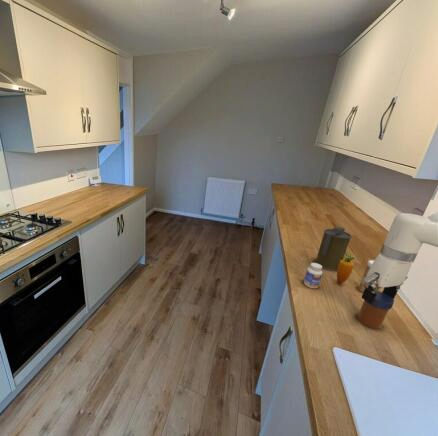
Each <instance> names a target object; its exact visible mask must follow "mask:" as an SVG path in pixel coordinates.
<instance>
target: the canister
mask: <svg viewBox="0 0 438 436" xmlns="http://www.w3.org/2000/svg"><path fill="white" fill-rule="evenodd" d="M345 230H346V228H345V227H342V226H333V228H326V229H324V230H323V235H322V239H321V242H320V244H319V245H320V246H319V249H318V252H317V254H316V255H317V256H316V258H315V261H314V263H317V264H320V265H321V266H322V269H325V270H328V271H333V272H337V270H338V266H339V262H340V260H344V259H345V258H344V257H343V256H345V257H346V254H345V252H347V249H348V246H349V244H350V240H351V238H352V237H353V236H352V234H351V233H349V232H347V231H345Z"/></svg>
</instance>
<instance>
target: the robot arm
mask: <svg viewBox="0 0 438 436" xmlns="http://www.w3.org/2000/svg"><path fill="white" fill-rule="evenodd" d="M423 244H425V245H429V246H433V247H435V248H438V212H437V211H436V212H434V213H433V214H431V215H429V216H427V217H426V216H423V215H419V214H415V213H408V212H407V213H406V212H402V213H398V214H397V215H395V216H394V218H393V220H392V223H391V225H390V228H389V230H388V232H387V235H386V237H385V239H384V242H383V244H382V246H381V249H380V252H379V254H378V255H377V257H375V259H374V260H373V261H374V262H373V264H372V266H371V267H370V269H369V271H368V273H367V276H366V279H365V280H364V288H365V290H364V292H362V295H361V299H363V301H364V300H366V301H367V302H369V303H370V304H372V303H373V302H374V300H375V297H376V295H377V294H376V292H377V291H380V289H381V288H383V289H382V292H383V293H385V294H387V295H389V296H390V297H392V298H393V299H394V300H395V298H396V295H397V293H398V291H399V290H400V289H401V286H402V285H403V284H404V283H405V281H406V280H407V279H408V275H409V272H410V270H411V266H412V264H414V262H415V260H416V258H417V255H418V254H419V251H420V250H421V248H422V245H423ZM374 281H376V283H375V282H374ZM372 284H374V285H375V287H374V288H373V287H372V286H371V285H372Z"/></svg>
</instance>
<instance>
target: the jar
mask: <svg viewBox="0 0 438 436" xmlns="http://www.w3.org/2000/svg"><path fill="white" fill-rule="evenodd" d="M388 312H389V310H384V309H380V308H377V307H374V306H372V305H370V304H369V303H367V302H366V301H365V300H364V299H363V302H362V305H361V307H360V309H359V312H358V314H357V320H358V321H359V322H360V323H361V324H362V325H364V326H366V327H368V328H371V329H376V330H377V329H381V328H382V326H383V324H384V321H385V320H386V317H387V315H388Z"/></svg>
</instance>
